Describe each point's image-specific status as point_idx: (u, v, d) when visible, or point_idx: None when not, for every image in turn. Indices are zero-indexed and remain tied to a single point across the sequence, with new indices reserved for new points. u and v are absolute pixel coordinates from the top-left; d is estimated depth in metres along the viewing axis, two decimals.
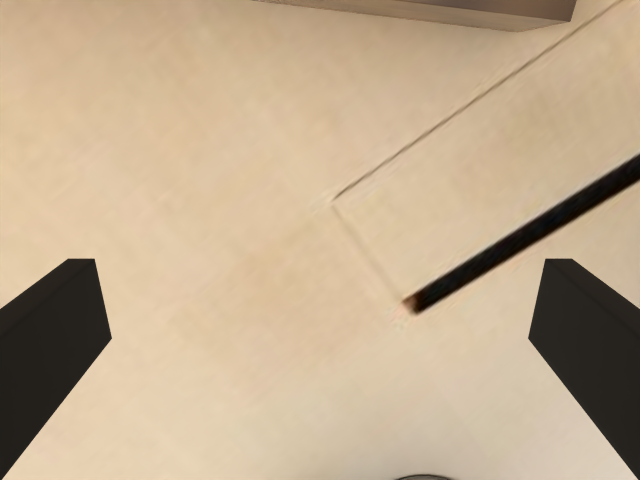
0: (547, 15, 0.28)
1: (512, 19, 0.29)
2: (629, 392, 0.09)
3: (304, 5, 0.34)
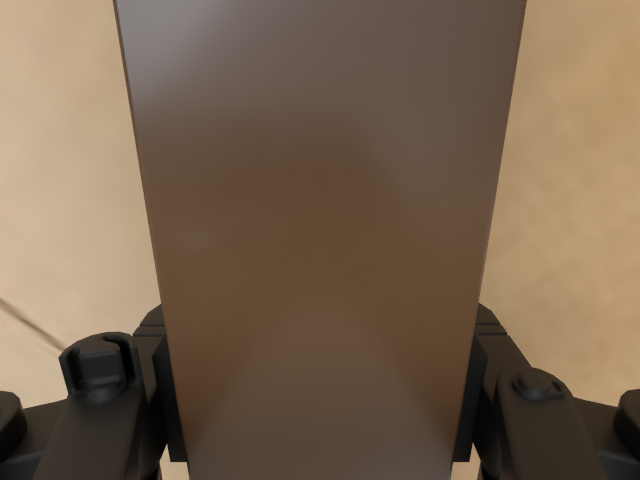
0: None
1: None
2: None
3: None
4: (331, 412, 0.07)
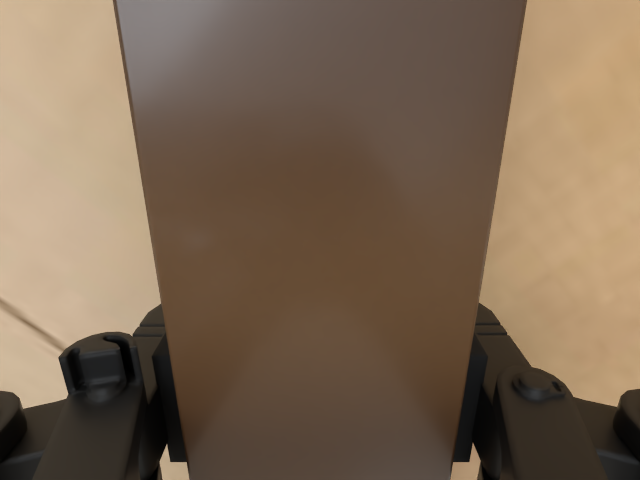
0: None
1: None
2: None
3: None
4: (331, 412, 0.07)
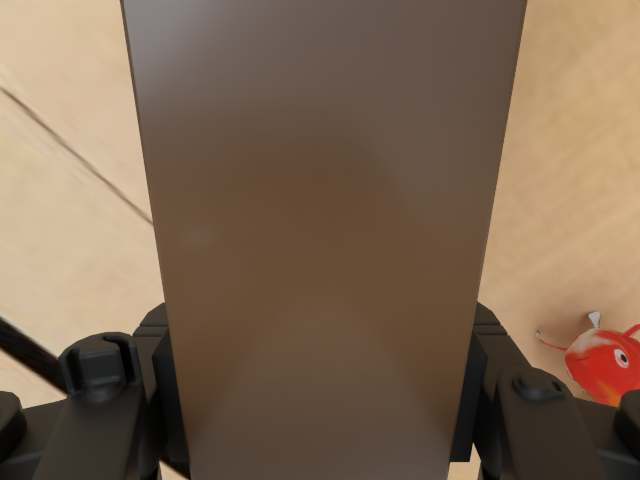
0: None
1: None
2: None
3: None
4: (331, 409, 0.07)
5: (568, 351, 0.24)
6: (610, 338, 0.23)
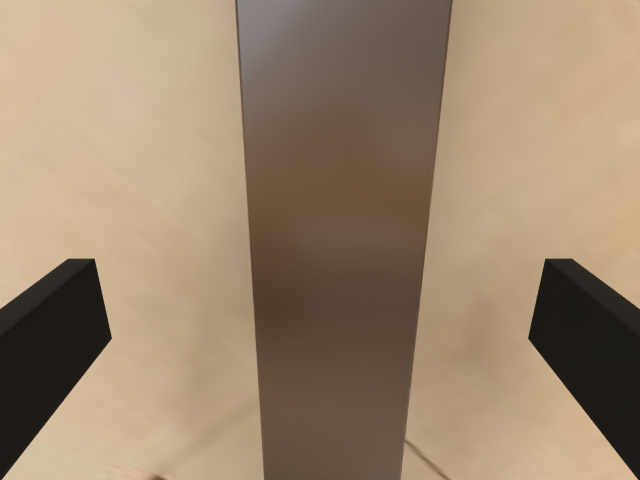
0: (267, 457, 0.14)
1: None
2: (629, 392, 0.09)
3: None
4: (344, 267, 0.12)
5: None
6: None
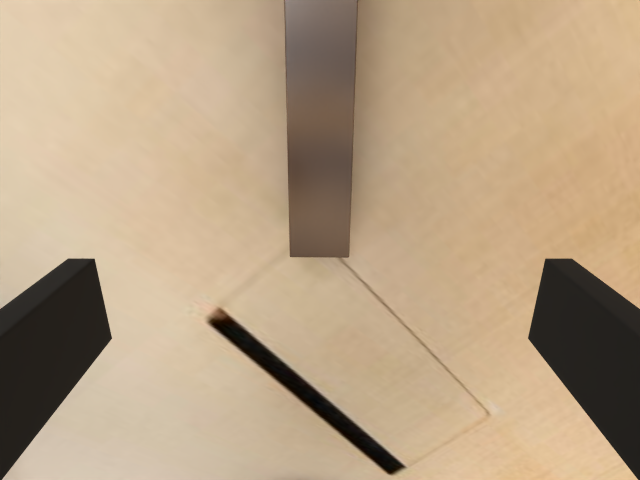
0: (291, 238, 0.34)
1: None
2: (629, 392, 0.09)
3: None
4: (322, 147, 0.31)
5: None
6: None
